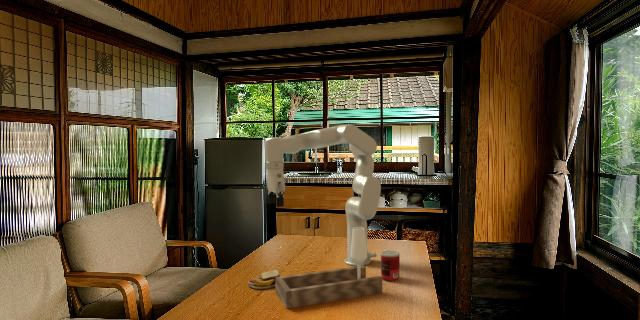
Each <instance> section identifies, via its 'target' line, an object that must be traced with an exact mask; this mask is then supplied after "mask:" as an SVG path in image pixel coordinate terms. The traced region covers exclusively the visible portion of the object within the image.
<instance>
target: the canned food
mask: <svg viewBox="0 0 640 320" xmlns="http://www.w3.org/2000/svg"><path fill="white" fill-rule="evenodd" d="M400 260H401V259H400V253H399V252H398V251H396V250H384V251H381V253H380V277H382V281H385V282H392V283H393V282H397V281H399V280H400V273H401V272H400V271H401V269H400V265H401V264H400Z"/></svg>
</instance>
